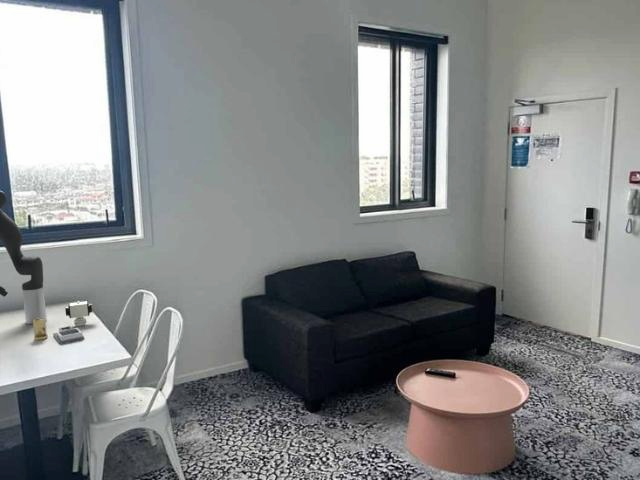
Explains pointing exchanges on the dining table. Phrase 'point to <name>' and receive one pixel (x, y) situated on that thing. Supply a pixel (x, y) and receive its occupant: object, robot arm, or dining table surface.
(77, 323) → the pneumatic valve
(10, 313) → the dining table surface
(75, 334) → the plate
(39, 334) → the brass fitting
